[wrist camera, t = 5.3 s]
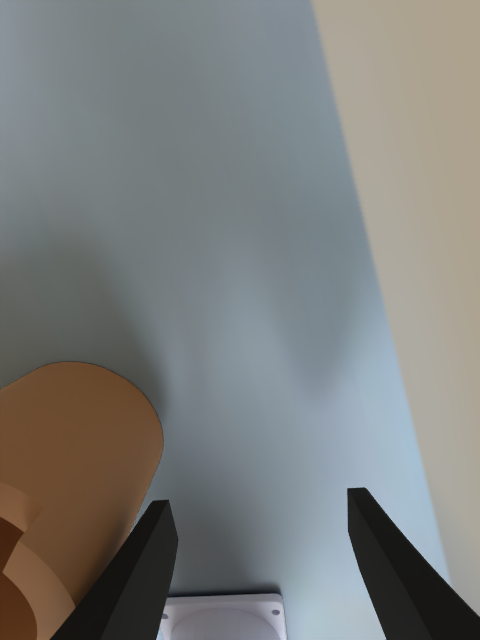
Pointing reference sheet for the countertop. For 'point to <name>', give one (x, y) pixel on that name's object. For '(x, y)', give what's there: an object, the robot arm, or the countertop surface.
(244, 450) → the countertop surface
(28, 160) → the countertop surface
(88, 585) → the bracket
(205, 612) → the robot arm
